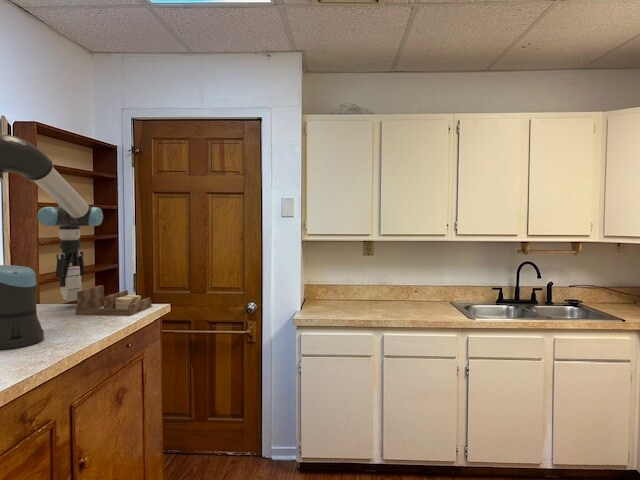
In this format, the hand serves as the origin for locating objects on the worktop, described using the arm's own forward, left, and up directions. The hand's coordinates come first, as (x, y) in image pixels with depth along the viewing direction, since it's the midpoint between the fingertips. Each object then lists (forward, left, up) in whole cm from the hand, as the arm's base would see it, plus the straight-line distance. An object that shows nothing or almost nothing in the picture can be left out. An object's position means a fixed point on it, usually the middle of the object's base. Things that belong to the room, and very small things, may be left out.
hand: (71, 292), depth 179 cm
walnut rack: (-4, -22, -6) cm, 23 cm away
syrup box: (0, 0, -3) cm, 3 cm away
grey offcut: (-4, -28, -7) cm, 29 cm away
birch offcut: (-4, -28, -4) cm, 28 cm away
